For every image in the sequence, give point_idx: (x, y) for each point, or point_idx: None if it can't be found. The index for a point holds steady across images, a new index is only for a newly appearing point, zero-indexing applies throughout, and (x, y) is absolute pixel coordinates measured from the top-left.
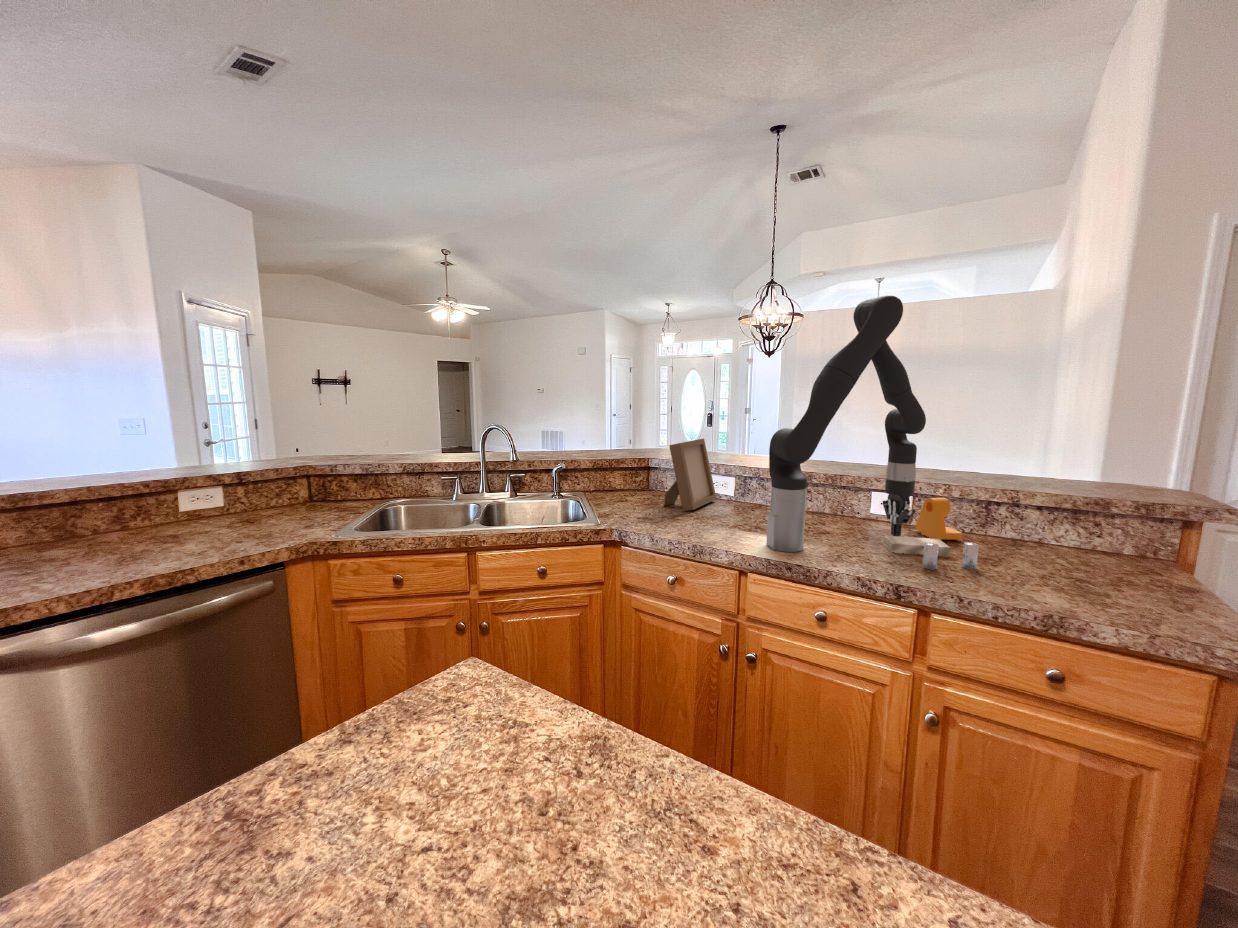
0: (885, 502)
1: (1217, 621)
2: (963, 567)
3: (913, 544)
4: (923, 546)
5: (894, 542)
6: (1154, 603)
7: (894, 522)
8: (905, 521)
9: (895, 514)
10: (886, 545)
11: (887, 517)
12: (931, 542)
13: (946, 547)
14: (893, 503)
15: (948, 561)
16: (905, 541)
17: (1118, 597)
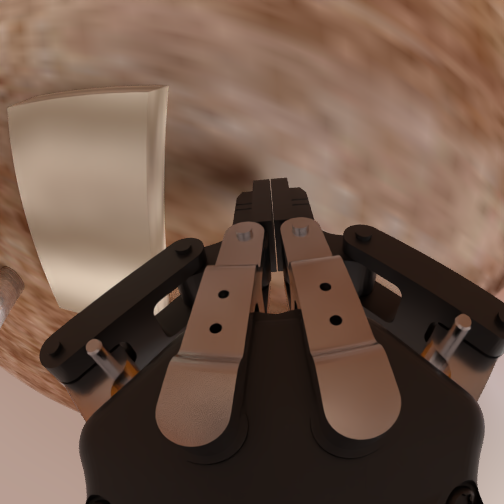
0: (486, 336)
1: (13, 374)
2: (4, 267)
3: (28, 202)
4: (32, 233)
5: (24, 122)
6: (25, 373)
7: (234, 228)
8: (181, 296)
9: (201, 282)
10: (108, 87)
11: (361, 228)
12: (91, 285)
13: (56, 298)
14: (214, 403)
15: (28, 258)
16: (56, 182)
17: (20, 363)
